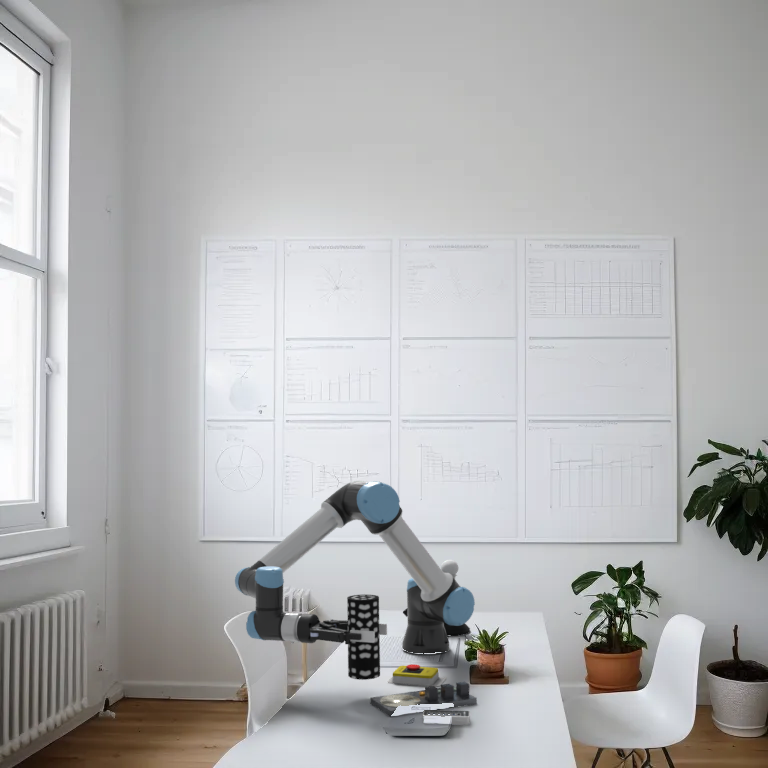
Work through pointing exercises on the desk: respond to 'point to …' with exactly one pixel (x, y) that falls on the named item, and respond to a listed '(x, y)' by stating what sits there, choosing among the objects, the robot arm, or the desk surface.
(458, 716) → the multiport hub
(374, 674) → the spotted tube
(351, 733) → the desk surface
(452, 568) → the sculpture
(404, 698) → the breaker board
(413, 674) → the emergency button
